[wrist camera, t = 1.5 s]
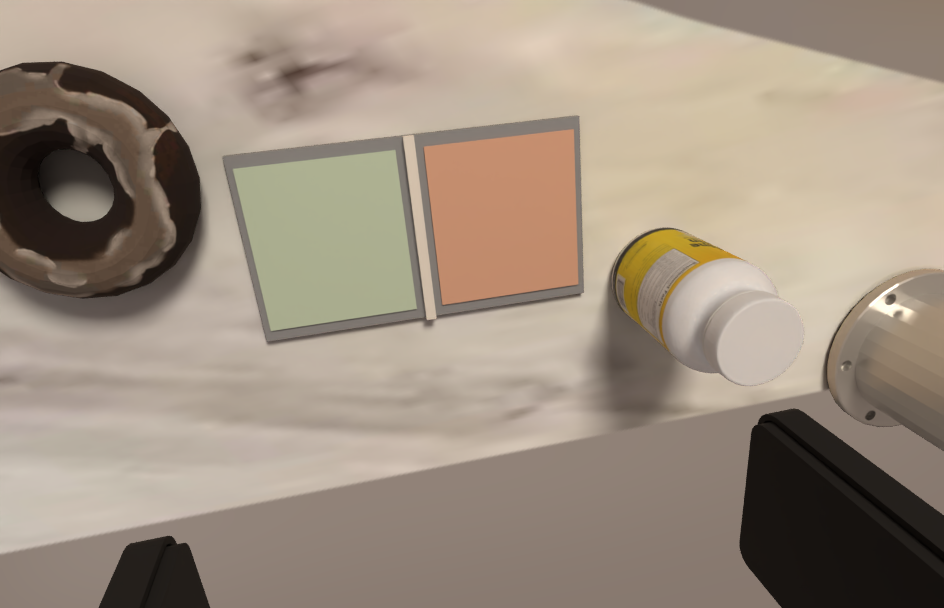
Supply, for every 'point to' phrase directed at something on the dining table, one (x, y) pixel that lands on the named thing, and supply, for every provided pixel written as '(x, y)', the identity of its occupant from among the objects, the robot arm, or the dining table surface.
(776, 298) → the pill bottle
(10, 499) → the dining table surface
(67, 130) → the donut
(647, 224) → the dining table surface
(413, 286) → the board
